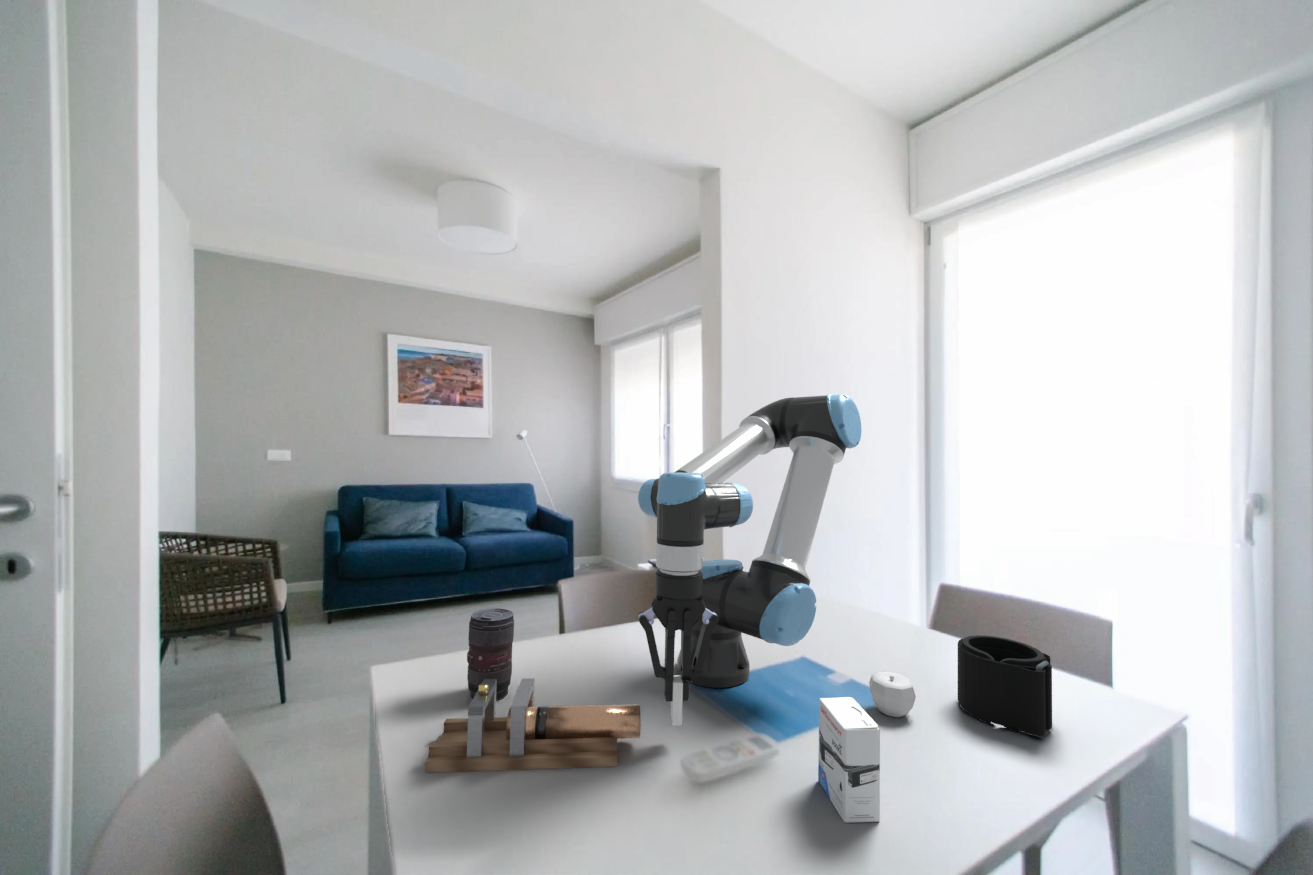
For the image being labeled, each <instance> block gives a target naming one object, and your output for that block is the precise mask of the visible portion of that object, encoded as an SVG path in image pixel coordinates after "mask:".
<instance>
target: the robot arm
mask: <svg viewBox="0 0 1313 875" xmlns="http://www.w3.org/2000/svg"><path fill="white" fill-rule="evenodd" d="M857 406H858V405H856V402H855V401H854V399H852V398H851V397H850V396H849V395H846V394H842V393H841V394H832V393H829V394H826V395H814V396H813V395H812V396H811V395H809V396H799V397H798V396H797V397H785V398H781V399H778V400H776V401H772V402H771V403H769V404H767V405H765V406H763V407H761V408H759V409H758V410H756V411H754V412H752V413H751V414H749V415H748V416H746V417H745V418H743V419H742V420H741V422H740V423H739V425H738V426H739V427H738V428H737V429H735V430H734V431H732V432H731V433H729V434H728V435H726V436H725V437H724V438H722V439H720V440H719V441H718V442H716V443H714V444H713V445H712V446H710V447H708V448H707V449H706V450H705V451H703V452H701V453H700V454H699V455H697V456H695V458H693V459H692V460H690V461H688V462H687V463H685V464H684V465H682V466H681V467H680V468H679V469H677V470H676V471H674V472H670V471H669V472H663V473H662V474H661V475H660V476H659V477H658V478H650V479H648V480H646V481H645V482H643V484H642V485H641V486H640V488H639V491H638V494H637V495H638V496H637V499H638V501H637V502H638V505H639V508H640V510H641V511H642V512H643V513H644V514H645V515H647V516H648V517H652V518H653V517H654V518H656V552H655V554H656V555H655V556H656V557H655V566H656V568H657V570H656V572H655V586H654V587H655V591H654V592H655V593H654V598H653V601H652V603H651V607H650V608H649V609H647V610H645V611H640V612H639V613H638V615H637V616H638V622H639V623H640V625H641V627H642V628H643V631H644V632H645V636H646V641H647V645H648V650H649V654H650V659H651V664H652V669H653V672H654V676H655V678H656V679H657V678H658V679H659V678H660V679H663V680H664V685H663V686H664V687H663V688H664V689H663V690H664V692H663V695H664V698H665V701H666V702H670V716H669V717H670V720H671V725H672V726H683V702H689V700H690V684H694V685H697V686H701V687H707V688H717V689H719V688H730V687H736V686H739V685H741V684H743V683H745V682H747V681H748V680H749V678H750V661H749V658H748V654H747V651H746V650H747V649H746V647H745V644H744V641H743V637H742V634H745V635H747V636H751V637H753V638H757V639H759V640H762V641H764V642H765V643H768V644H776V645H778V646H779V645H780V646H783V647H790V646H794V645H796V644H798V643H799V642H800V641H801V640H803V639H804V638H805V637H806V635H807V634H808V633H809V631H810V629H811V628H812V626H813V623H814V620H815V617H816V612H817V605H816V602H817V597H816V593H815V591H814V589H813V588H811V587H810V584H811V578H810V576H809V575H808V572H807V571H806V568H807V564H808V561H809V556H810V552H811V549H812V546H813V542H814V538H815V534H816V531H817V528H818V524H819V521H820V516H821V513H822V510H823V506H824V505H823V504H824V503H825V502H824V501H825V497H826V494H827V491H828V487H829V485H830V484H829V483H830V481H831V480H830V479H831V476H832V472H833V468H834V465H836V464H838V463H841V462H842V461H843V460H844V456H845V452H846V449H849V450H850V449H854V448H856V447H857V446H858V445H859V443H860V442H861V437H862V421H861V420H862V419H861V416H860V412H859V409H858V407H857ZM781 448H789V449H790V450H791V453H793V455H792V459H791V460H790V464H789V467H788V471H787V474H786V477H785V481H784V485H783V486H782V490H781V493H780V496H779V500H778V502H777V506H776V510H775V512H774V515H773V519H772V523H771V526H770V529H769V532H768V535H767V539H766V542H765V544H764V549H763V551H762V554H761V555H760V556H757V557H755V558H754V559H752V561H751V564H750V568H749V570H748V571H746V570H745V571H744V570H743V569H744V566H743V562H742V561H740V560H737V559H712V560H711V559H710V560H704V539H705V538H704V536H705V534H704V532H705V530H709V529H717V528H718V529H719V528H727V527H728V528H734V527H735V526H739V525H743V524H744V523H747V521H748V520H749V519H750V517H751V516H752V513H753V510H754V500H753V499H754V498H753V497H752V494H751V493H750V492H751V491H749V489H748V488H746V486H744V485H742V484H740V483H733V482H726V481H727V480H728V479H729V478H730V477H732V476H733V475H734V474H735V473H737V472H739V470H741V469H743V467H745V466H746V465H747V464H749V463H750V462H751V461H752V460H754V459H756V457H758V456H759V455H762V456H763V455H767V454H769V453H771V451H773V450H775V449H781ZM724 482H725V483H724ZM654 616H656V618H657V619H658V621H659V622H660V624H661V626H662V627H663V628H664V631H665V633H664V635H665V636H664V638H665V639H664V666H662V665H661V660H660V656H659V651H658V647H657V643H656V638H655V633H654V630H653V624H654V623H655V619H654ZM676 631H680V650H679V653H678V657H677V660H676V664H677V665H676V672H677V674H675V673H674V672H675V642H676V641H675V640H676V639H675V638H676Z"/></svg>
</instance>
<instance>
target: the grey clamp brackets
mask: <svg viewBox="0 0 1313 875" xmlns="http://www.w3.org/2000/svg"><path fill="white" fill-rule="evenodd" d="M496 687H497V679H484V680H483V682H482V684H480V685H479V689H478V691H477V693H476V694H475V696H474V698H473V700H472V699H471V701H470V704H469V705H468V707H467V710H468V711H467V718H468V733H467V758H481V757H482V745H483V743H484V720H494V718H495V717H497V716H496V715H497V714H496V711H497V710H496V709H497V701H496ZM534 703H535V678H521V680H520V683H519V685H518V688H517V690H516V692H515V695H514V698H513V700H512V703H511V705H510V707H511V724H510V757H524V749H525V741H526V709H527V707H535V705H534Z"/></svg>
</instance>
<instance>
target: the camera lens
mask: <svg viewBox="0 0 1313 875" xmlns="http://www.w3.org/2000/svg"><path fill="white" fill-rule="evenodd" d="M514 634H515V619H514V612H513V611H512V610H510V609H506V608H499V607H496V608H495V607H494V608H493V607H492V608H483V609H479V610H476V611H474V612H472V613H471V615H470V620H469V623H468V646H469V647H468V651H467V653H466V661H467V663H468V665H467V674H466V676H467V688H468V690H469V692H470V694H469V695H470V697H469V698H470V699H471V701H472V700H473V698H474V696H475V694H476V693H477V691H478V689H479V685H480V684H482V682H483V680H484V679H497V687H496V702H497V701H499V700H501V699H503V698H505V697H506V696H507V695H508V692H509V687H510V685H511V681H512V674H513V671H512V670H513V661H512V660H513V642H514Z"/></svg>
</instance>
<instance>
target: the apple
mask: <svg viewBox="0 0 1313 875" xmlns="http://www.w3.org/2000/svg"><path fill="white" fill-rule="evenodd" d="M868 684H869V691H870V695H871V698H872V701H873V703H874V705H875V706H876V709H878V711H879V712H880V713H883V714H884V715H886V716H889V717H893V718H902V717H905V716H907V715H908V714H909V713H910V712H911V710H912V709H913V708H914V705H915V701H916V697H917V696H916V693H915V690H914V686H913V683H912V680H911V679H910V678H908V677H906V676H904V675H902V674H900V673H897V672H889V671H880V672H874V673H873V674H871V677H870V679H869V681H868Z"/></svg>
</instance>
